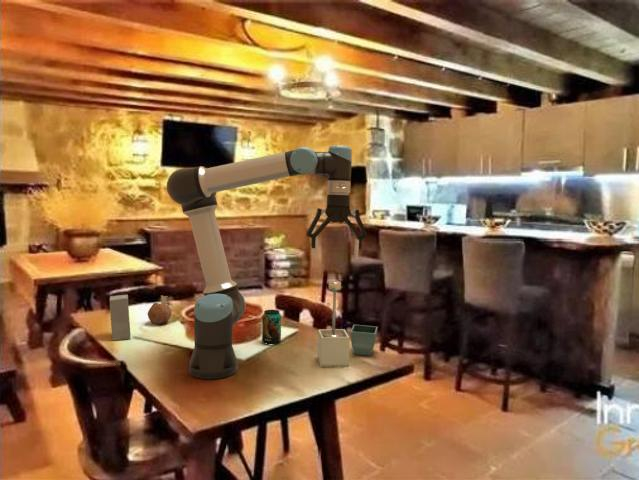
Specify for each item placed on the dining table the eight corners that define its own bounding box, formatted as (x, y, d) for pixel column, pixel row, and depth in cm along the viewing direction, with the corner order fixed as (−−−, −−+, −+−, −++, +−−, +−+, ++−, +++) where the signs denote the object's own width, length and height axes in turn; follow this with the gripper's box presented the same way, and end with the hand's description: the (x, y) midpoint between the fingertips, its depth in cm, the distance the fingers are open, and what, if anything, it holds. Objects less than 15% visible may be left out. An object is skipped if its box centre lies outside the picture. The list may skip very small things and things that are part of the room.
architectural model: (168, 309, 226) (168, 294, 225) (174, 312, 221) (174, 297, 220) (161, 310, 224) (160, 295, 223) (166, 314, 219) (166, 298, 218)
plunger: (325, 339, 157) (326, 283, 155) (322, 333, 163) (323, 280, 161) (344, 339, 158) (346, 283, 156) (341, 333, 164) (343, 280, 162)
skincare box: (130, 339, 179) (129, 298, 178) (109, 341, 177) (108, 299, 175) (130, 333, 187) (129, 293, 186) (110, 334, 185) (109, 294, 183)
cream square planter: (320, 367, 156) (321, 337, 155) (317, 357, 165) (318, 329, 164) (348, 366, 157) (349, 337, 156) (343, 357, 166) (344, 329, 165)
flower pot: (374, 358, 166) (375, 333, 165) (349, 356, 168) (350, 331, 167) (376, 350, 175) (377, 326, 174) (352, 348, 176) (353, 324, 175)
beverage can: (258, 344, 178) (259, 312, 177) (266, 338, 185) (267, 308, 184) (276, 346, 176) (276, 314, 175) (283, 340, 183) (284, 310, 181)
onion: (151, 330, 202) (141, 308, 202) (171, 321, 207) (161, 300, 207) (157, 327, 194) (147, 305, 194) (178, 318, 200) (168, 296, 200)
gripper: (301, 192, 150) (299, 259, 153) (378, 195, 154) (375, 260, 156) (299, 192, 158) (297, 256, 160) (372, 195, 161) (369, 257, 164)
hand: (336, 258), depth 158 cm, fingers open, 13 cm apart
